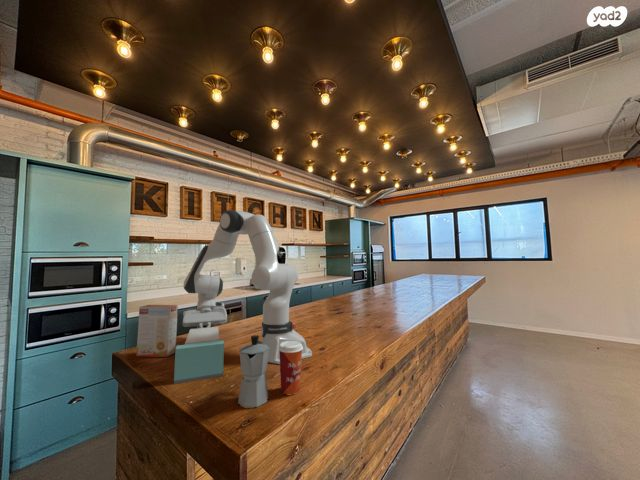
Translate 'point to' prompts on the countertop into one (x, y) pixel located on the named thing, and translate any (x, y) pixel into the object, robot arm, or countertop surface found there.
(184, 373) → the rectangular block
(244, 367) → the coffee maker
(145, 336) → the cracker box
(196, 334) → the stone slab
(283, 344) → the paper cup
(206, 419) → the countertop surface
